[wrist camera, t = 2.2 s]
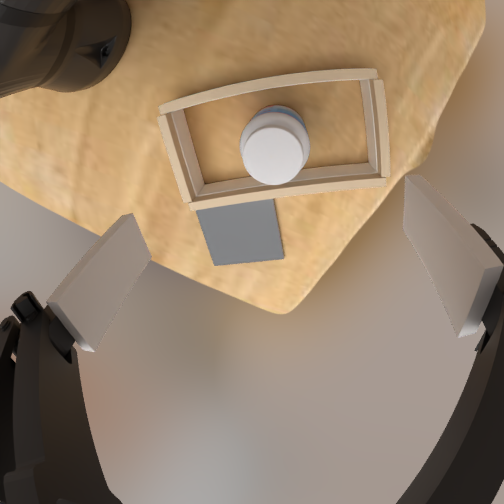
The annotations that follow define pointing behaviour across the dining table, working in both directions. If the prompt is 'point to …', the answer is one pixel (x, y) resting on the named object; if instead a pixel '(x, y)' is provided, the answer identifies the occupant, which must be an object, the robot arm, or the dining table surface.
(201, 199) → the beige frame
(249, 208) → the coaster
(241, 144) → the pill bottle
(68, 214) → the dining table surface
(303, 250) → the dining table surface
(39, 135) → the dining table surface
